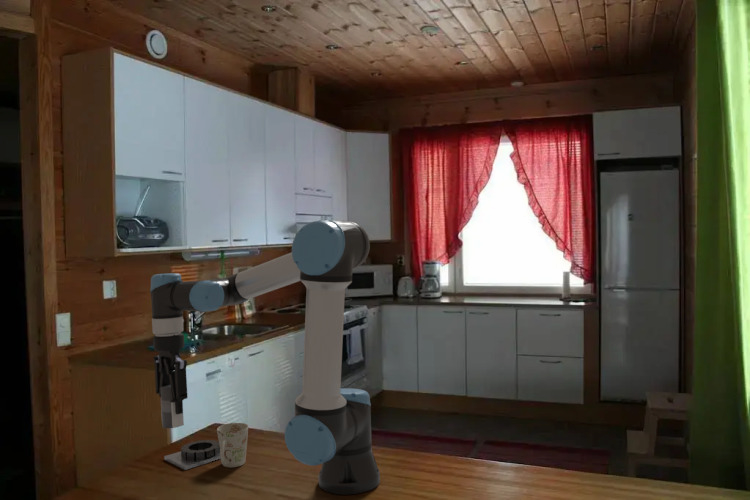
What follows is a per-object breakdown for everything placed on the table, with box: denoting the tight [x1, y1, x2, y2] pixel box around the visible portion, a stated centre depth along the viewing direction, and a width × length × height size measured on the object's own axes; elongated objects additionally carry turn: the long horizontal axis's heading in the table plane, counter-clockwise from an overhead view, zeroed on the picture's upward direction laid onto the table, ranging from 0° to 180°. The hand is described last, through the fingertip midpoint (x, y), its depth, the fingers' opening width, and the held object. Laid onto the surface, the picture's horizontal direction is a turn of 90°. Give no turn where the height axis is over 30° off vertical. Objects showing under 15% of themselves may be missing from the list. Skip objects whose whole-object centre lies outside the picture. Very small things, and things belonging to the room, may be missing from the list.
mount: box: [163, 439, 221, 471], centre depth 173 cm, size 12×16×3 cm
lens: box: [160, 385, 177, 429], centre depth 157 cm, size 5×5×10 cm
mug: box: [216, 422, 249, 468], centre depth 165 cm, size 8×13×10 cm, turn 174°
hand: (172, 423), depth 157 cm, fingers closed on lens, 5 cm apart
